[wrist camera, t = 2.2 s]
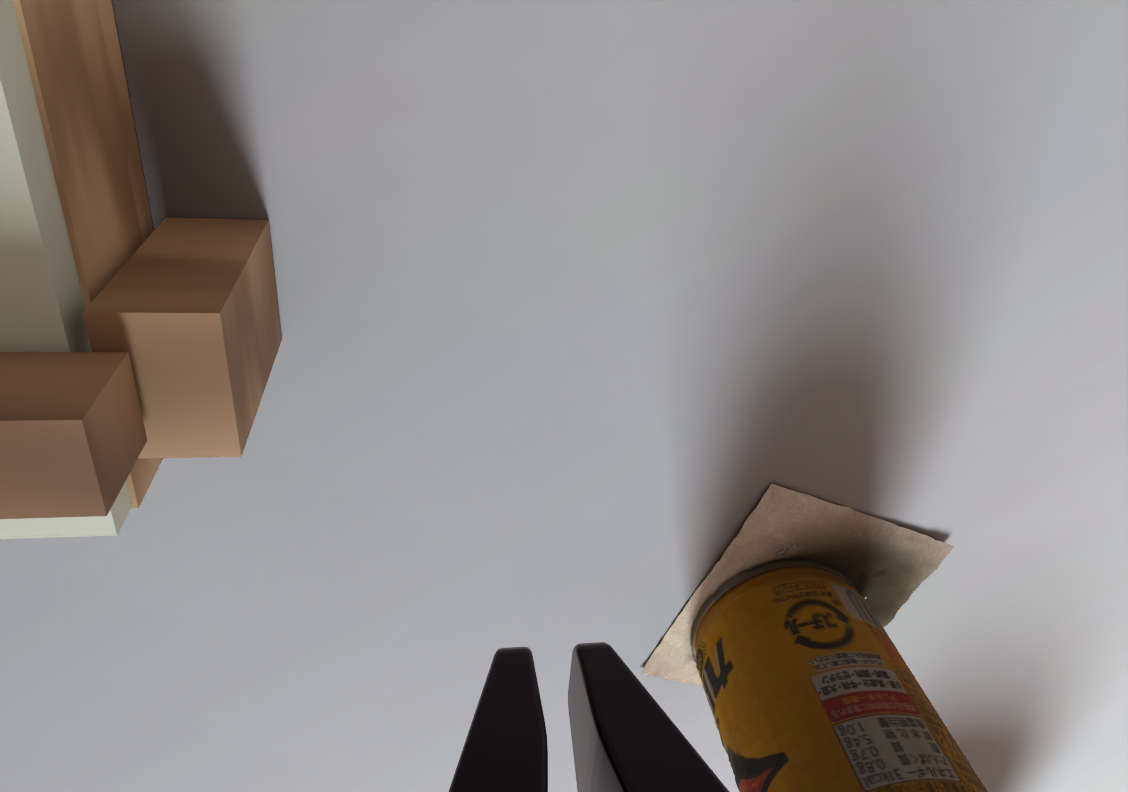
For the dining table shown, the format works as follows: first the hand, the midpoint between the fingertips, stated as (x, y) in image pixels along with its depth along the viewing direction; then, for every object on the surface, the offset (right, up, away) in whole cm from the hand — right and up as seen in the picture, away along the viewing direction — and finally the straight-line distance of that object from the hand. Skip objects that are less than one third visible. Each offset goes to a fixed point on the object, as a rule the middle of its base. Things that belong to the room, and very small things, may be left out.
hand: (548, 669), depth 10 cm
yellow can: (+8, -4, +18) cm, 20 cm away
